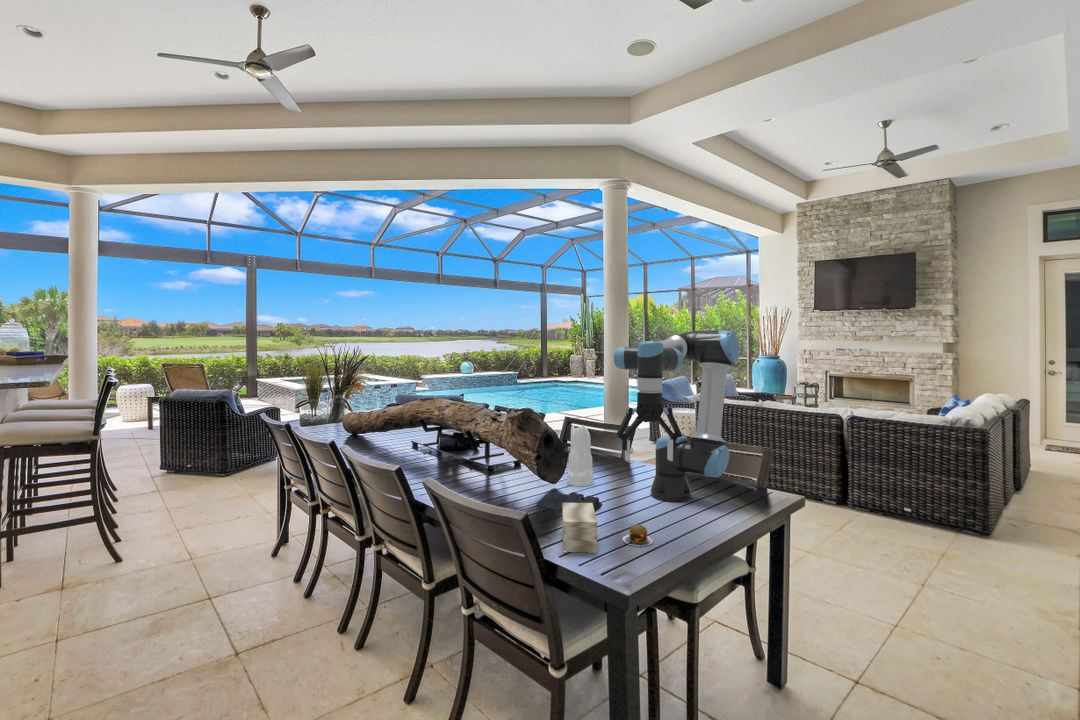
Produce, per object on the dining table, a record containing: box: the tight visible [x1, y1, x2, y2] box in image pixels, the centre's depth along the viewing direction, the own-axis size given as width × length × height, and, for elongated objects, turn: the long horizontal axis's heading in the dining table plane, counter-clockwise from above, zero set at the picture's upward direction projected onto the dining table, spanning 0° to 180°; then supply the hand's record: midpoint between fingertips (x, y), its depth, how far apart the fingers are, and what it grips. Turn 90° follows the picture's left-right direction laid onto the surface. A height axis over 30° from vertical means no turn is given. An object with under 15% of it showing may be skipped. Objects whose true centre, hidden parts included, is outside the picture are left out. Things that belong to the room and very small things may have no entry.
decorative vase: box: [567, 424, 594, 487], centre depth 213 cm, size 11×11×25 cm
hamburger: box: [622, 524, 654, 547], centre depth 151 cm, size 12×12×6 cm
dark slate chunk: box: [536, 491, 603, 513], centre depth 184 cm, size 15×22×5 cm
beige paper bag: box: [561, 503, 598, 554], centre depth 151 cm, size 10×17×9 cm, turn 178°
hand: (648, 460), depth 156 cm, fingers open, 13 cm apart
